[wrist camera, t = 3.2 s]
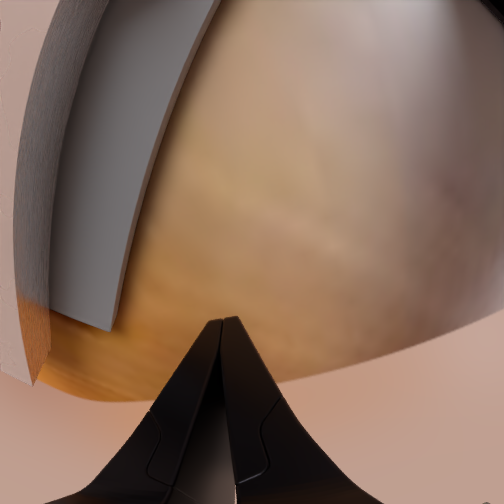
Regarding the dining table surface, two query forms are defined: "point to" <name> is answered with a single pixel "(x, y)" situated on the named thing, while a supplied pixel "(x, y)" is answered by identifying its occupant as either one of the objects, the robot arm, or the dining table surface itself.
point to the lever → (34, 160)
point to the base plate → (116, 147)
